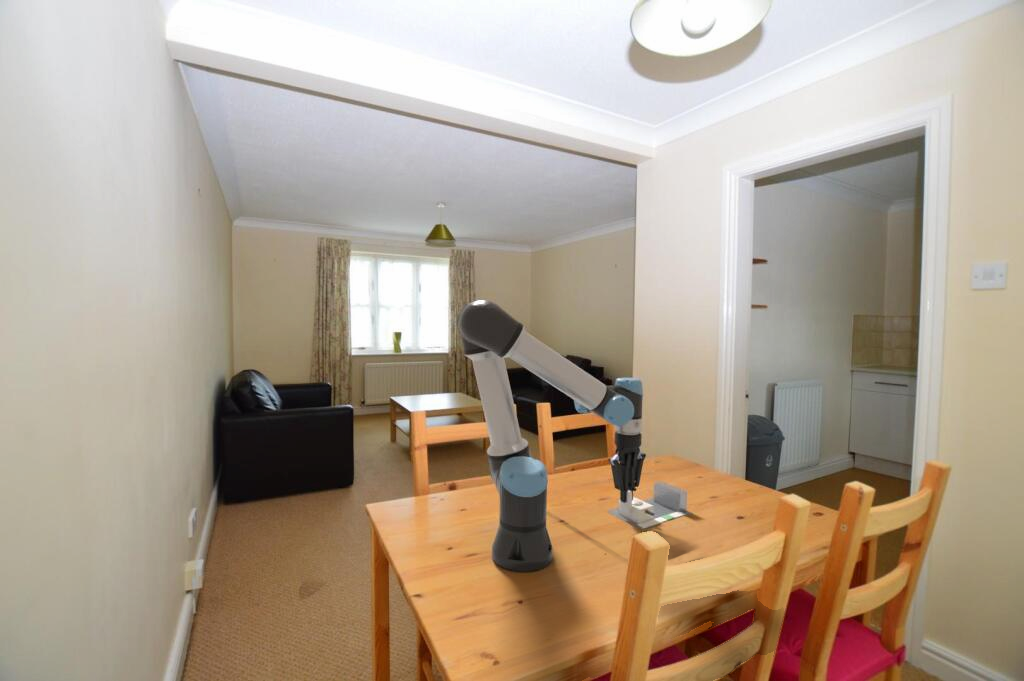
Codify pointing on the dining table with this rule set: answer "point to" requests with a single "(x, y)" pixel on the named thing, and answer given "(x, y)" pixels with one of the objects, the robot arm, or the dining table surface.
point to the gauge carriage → (638, 511)
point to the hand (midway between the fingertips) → (626, 512)
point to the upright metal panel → (670, 496)
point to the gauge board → (659, 517)
